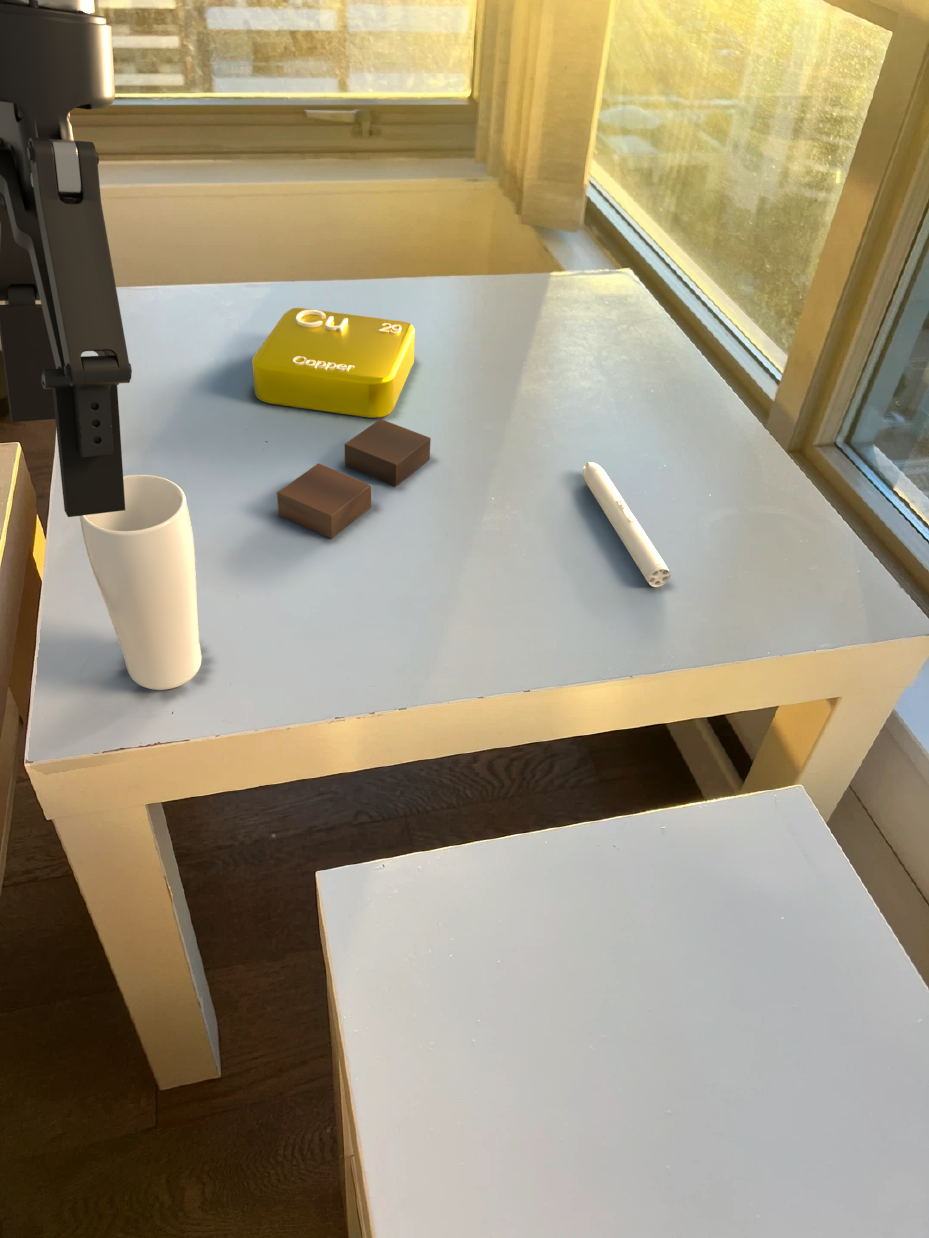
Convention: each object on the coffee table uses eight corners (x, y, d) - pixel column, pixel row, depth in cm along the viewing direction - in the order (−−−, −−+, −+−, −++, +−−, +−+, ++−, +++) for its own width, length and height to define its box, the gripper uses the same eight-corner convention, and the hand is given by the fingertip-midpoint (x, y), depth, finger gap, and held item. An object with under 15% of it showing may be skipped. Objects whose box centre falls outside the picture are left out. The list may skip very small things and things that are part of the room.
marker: (575, 473, 95) (578, 452, 93) (594, 471, 95) (598, 451, 94) (645, 589, 82) (651, 567, 81) (668, 586, 83) (674, 564, 81)
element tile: (249, 402, 101) (245, 360, 98) (290, 340, 112) (288, 300, 109) (389, 422, 100) (390, 380, 97) (417, 357, 111) (418, 318, 108)
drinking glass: (227, 679, 71) (203, 514, 61) (137, 714, 68) (97, 546, 58) (191, 625, 75) (163, 462, 65) (105, 656, 72) (62, 490, 62)
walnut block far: (395, 487, 91) (396, 464, 89) (344, 466, 93) (344, 444, 91) (429, 459, 95) (431, 437, 93) (380, 440, 97) (380, 418, 95)
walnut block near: (331, 539, 84) (331, 516, 83) (278, 515, 86) (276, 492, 85) (371, 507, 88) (371, 484, 87) (319, 485, 90) (318, 462, 89)
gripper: (199, 22, 35) (208, 549, 45) (46, 1, 52) (79, 384, 63) (-31, -9, 31) (38, 574, 41) (-113, -21, 48) (-49, 391, 59)
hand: (63, 461), depth 52 cm, fingers open, 13 cm apart
